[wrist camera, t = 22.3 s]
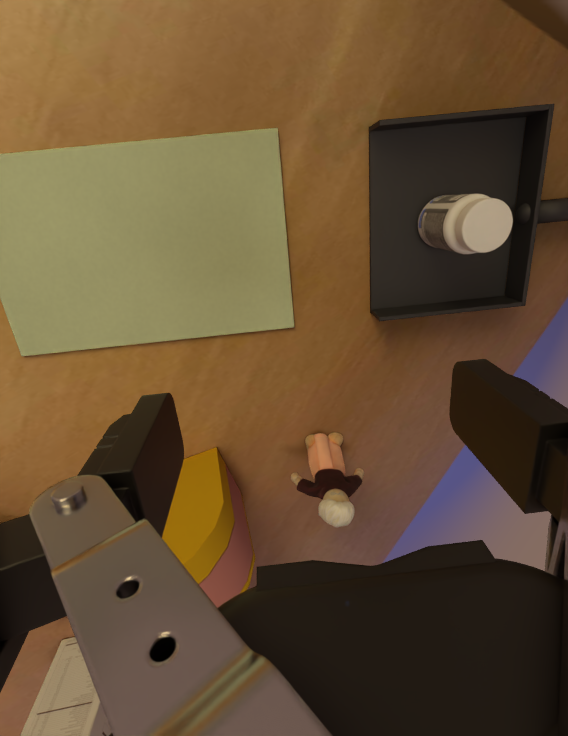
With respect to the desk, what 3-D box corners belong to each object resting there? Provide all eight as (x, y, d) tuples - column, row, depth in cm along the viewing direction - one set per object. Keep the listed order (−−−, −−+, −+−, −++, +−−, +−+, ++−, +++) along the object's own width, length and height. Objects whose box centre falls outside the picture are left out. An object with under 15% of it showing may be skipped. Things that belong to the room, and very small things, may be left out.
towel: (23, 355, 41) (21, 356, 41) (-49, 159, 34) (-52, 158, 34) (294, 326, 42) (294, 327, 42) (277, 128, 35) (277, 127, 35)
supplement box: (86, 677, 61) (28, 839, 45) (60, 638, 57) (-13, 800, 42) (147, 663, 61) (109, 823, 45) (124, 624, 57) (74, 782, 42)
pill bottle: (442, 256, 40) (487, 270, 32) (406, 229, 39) (444, 235, 31) (475, 214, 38) (531, 217, 31) (439, 183, 37) (488, 179, 29)
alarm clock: (148, 532, 51) (95, 696, 34) (115, 484, 48) (38, 638, 31) (257, 494, 50) (257, 644, 33) (230, 442, 47) (215, 579, 30)
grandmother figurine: (348, 422, 47) (379, 495, 35) (353, 449, 48) (384, 528, 37) (284, 436, 47) (293, 514, 35) (291, 463, 48) (301, 546, 37)
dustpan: (370, 312, 42) (379, 321, 39) (368, 127, 35) (379, 120, 32) (562, 292, 42) (585, 299, 39) (595, 105, 36) (626, 96, 33)
